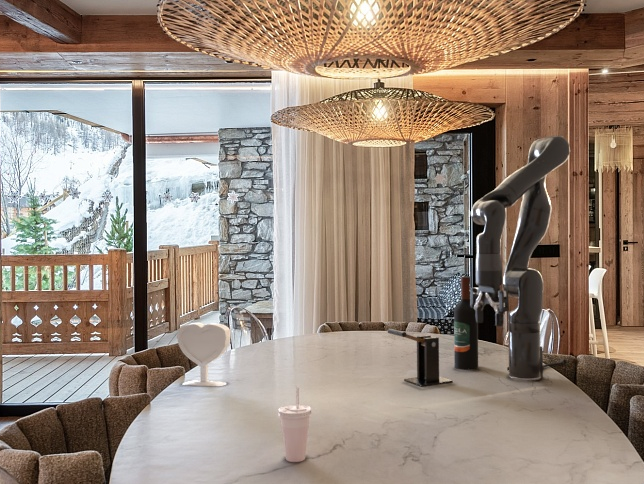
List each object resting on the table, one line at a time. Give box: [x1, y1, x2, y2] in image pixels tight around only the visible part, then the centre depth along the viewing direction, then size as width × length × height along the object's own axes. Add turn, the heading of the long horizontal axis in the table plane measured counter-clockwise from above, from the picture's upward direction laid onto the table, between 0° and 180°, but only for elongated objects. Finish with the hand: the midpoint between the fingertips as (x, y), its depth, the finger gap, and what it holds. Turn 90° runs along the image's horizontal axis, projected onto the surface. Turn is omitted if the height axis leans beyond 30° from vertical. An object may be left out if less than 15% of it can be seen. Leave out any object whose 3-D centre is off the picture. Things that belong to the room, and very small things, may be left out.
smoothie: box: [278, 386, 312, 463], centre depth 118 cm, size 6×6×14 cm
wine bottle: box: [453, 276, 479, 371], centre depth 196 cm, size 8×8×30 cm
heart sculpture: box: [176, 322, 232, 387], centre depth 180 cm, size 16×5×18 cm, turn 79°
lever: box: [386, 328, 425, 346], centre depth 175 cm, size 13×8×2 cm, turn 118°
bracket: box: [403, 334, 453, 388], centre depth 177 cm, size 11×9×14 cm
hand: (489, 324), depth 176 cm, fingers open, 8 cm apart
